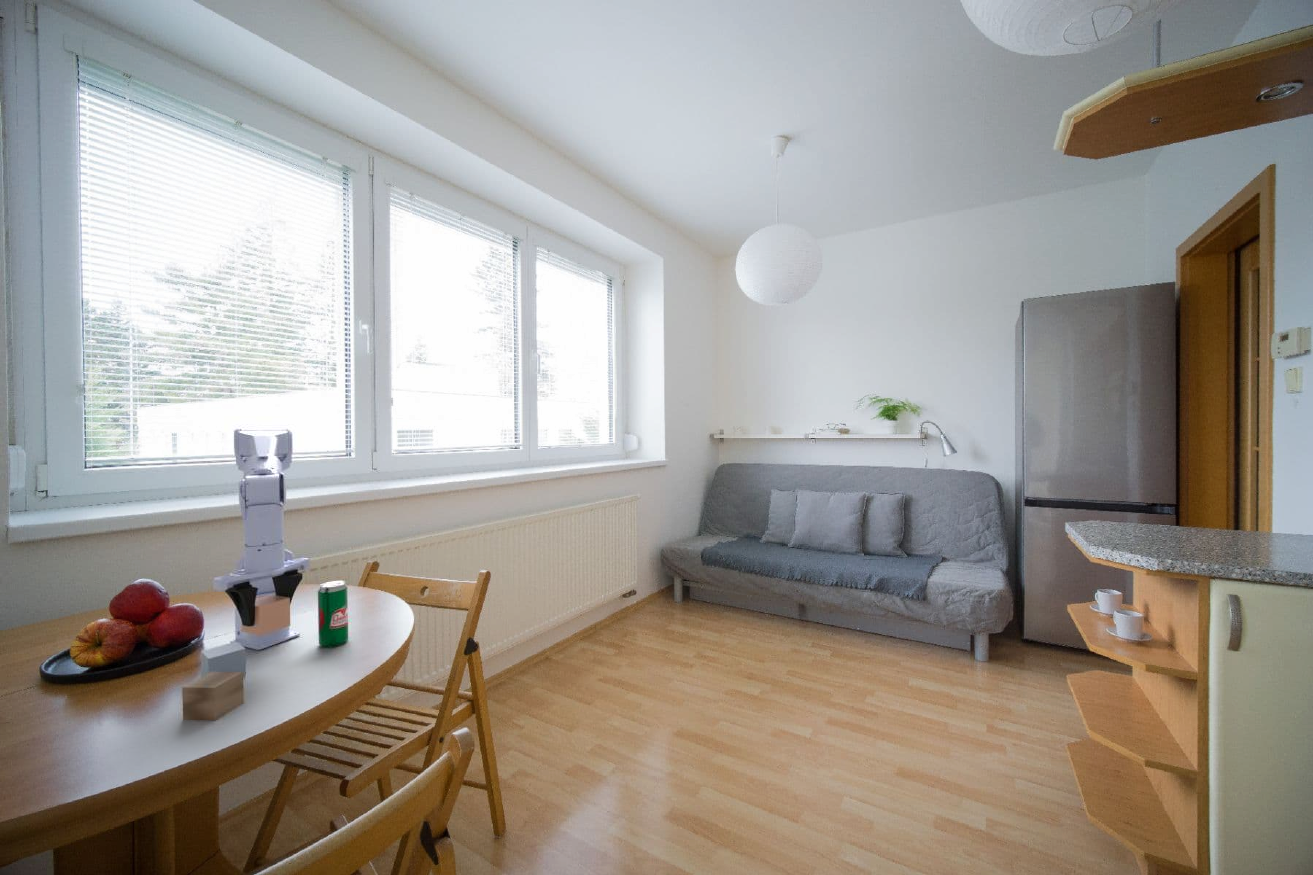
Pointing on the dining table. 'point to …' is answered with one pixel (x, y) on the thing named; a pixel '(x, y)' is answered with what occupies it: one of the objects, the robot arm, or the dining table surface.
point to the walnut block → (212, 696)
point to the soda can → (332, 613)
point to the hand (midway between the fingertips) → (265, 619)
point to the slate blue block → (224, 659)
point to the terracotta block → (270, 615)
